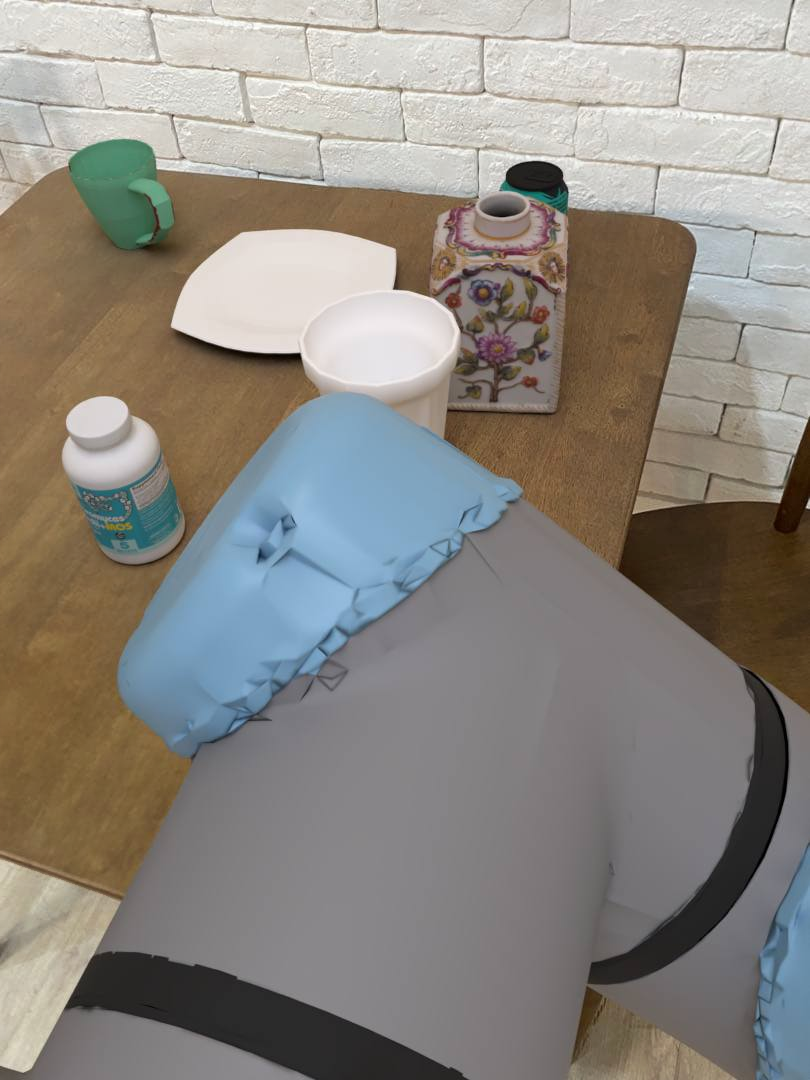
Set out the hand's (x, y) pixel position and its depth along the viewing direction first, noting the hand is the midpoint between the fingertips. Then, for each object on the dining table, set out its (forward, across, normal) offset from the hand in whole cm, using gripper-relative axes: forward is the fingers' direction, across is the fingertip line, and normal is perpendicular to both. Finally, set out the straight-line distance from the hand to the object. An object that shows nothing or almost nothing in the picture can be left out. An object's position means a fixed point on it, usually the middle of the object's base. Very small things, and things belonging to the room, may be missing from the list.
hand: (364, 711), depth 53 cm
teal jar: (+40, +45, +22) cm, 65 cm away
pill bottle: (+32, -4, +14) cm, 35 cm away
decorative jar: (+32, +33, +14) cm, 48 cm away
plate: (+49, +22, +31) cm, 62 cm away
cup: (+28, +17, +10) cm, 34 cm away
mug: (+64, +14, +46) cm, 80 cm away
